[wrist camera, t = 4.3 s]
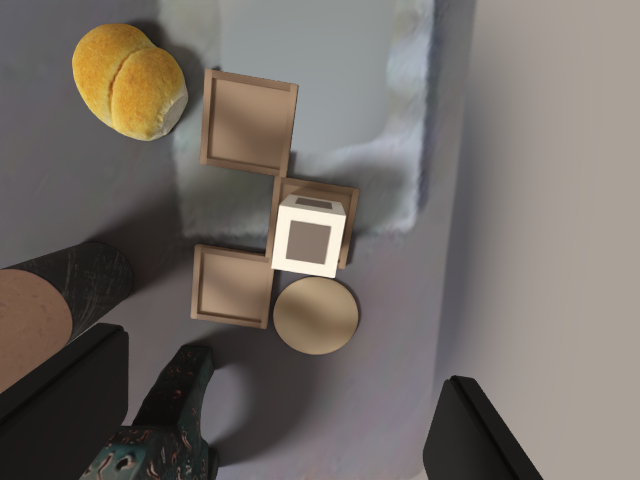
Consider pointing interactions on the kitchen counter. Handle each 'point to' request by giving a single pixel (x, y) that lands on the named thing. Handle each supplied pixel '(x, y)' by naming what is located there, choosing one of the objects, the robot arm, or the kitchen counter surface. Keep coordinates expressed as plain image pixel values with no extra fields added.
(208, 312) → the tray
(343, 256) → the tray
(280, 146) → the tray
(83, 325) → the travel mug
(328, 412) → the kitchen counter surface
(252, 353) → the kitchen counter surface
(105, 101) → the bread roll
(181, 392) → the ceramic cat
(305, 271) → the white box with panels
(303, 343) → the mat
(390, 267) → the kitchen counter surface
